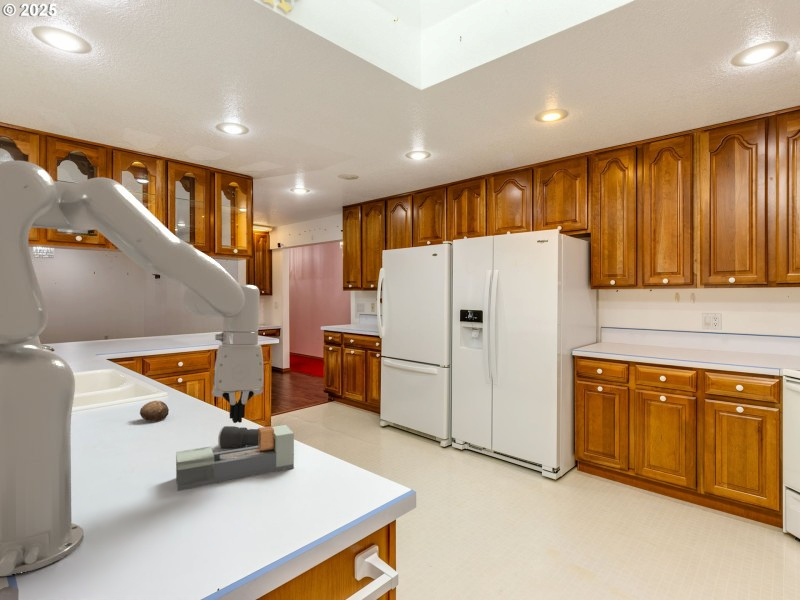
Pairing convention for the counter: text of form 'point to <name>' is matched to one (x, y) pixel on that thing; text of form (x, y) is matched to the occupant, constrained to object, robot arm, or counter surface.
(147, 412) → the brown rounded lump
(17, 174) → the robot arm
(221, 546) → the counter surface
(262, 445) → the hammer
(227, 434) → the flashlight
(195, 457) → the toy lathe
